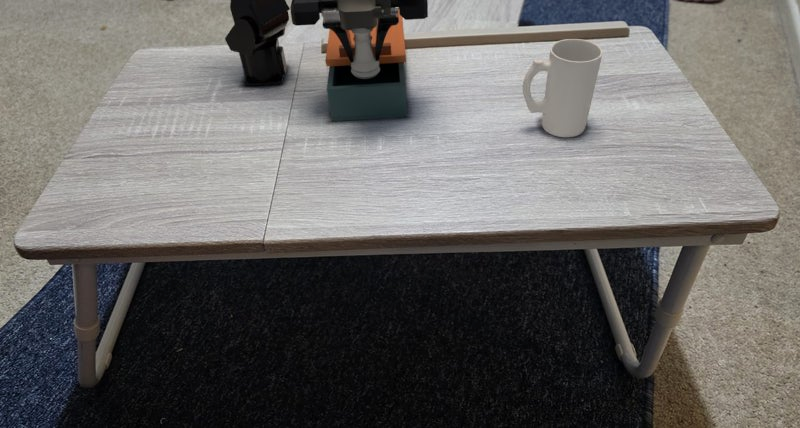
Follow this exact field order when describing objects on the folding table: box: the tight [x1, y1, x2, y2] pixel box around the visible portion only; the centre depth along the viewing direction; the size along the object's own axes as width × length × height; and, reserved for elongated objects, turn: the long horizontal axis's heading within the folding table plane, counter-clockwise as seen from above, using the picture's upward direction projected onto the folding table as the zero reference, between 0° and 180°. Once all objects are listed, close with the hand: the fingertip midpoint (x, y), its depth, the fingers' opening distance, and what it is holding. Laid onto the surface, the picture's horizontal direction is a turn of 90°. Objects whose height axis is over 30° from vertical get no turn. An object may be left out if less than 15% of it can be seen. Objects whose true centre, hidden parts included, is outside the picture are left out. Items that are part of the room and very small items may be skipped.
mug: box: [522, 38, 604, 138], centre depth 81 cm, size 10×7×12 cm, turn 92°
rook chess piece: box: [351, 28, 380, 79], centre depth 85 cm, size 4×4×8 cm
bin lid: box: [325, 12, 407, 68], centre depth 96 cm, size 20×12×3 cm, turn 2°
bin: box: [326, 62, 408, 122], centre depth 93 cm, size 19×12×6 cm, turn 2°
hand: (364, 60), depth 86 cm, fingers closed on rook chess piece, 3 cm apart
